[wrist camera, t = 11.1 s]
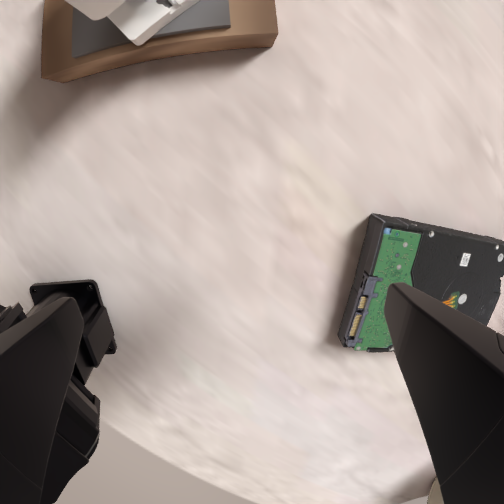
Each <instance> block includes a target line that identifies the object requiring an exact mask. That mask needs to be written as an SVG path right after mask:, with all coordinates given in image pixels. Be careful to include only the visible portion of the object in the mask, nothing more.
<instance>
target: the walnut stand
mask: <svg viewBox="0 0 504 504" xmlns="http://www.w3.org/2000/svg"><path fill="white" fill-rule="evenodd" d="M156 3H157V4H163V5H164V6H165V7H168V8H170V7H171V6H173V5H172V4H171V3H170V2H169V1H168V0H156ZM277 35H278V26H277V17H276V8H275V0H200V1H198V2H197V3H196V4H194V5H193V6H191V7H190V8H188V9H187V10H186V11H184V12H183V13H181V14H180V15H179V16H177V17H176V18H175V19H173V20H172V21H171V22H169V23H168V24H167V25H166V26H164V27H163V28H162V29H160V30H159V31H158V32H157V33H155V34H154V35H153V36H152V37H150V38H149V39H148V40H147V41H146V42H144V43H143V44H142V45H140V46H137V45H135V44H134V43H133V42H132V41H131V40H129V39H128V38H127V37H126V36H125V34H124V33H123V32H122V31H121V30H120V29H119V28H118V27H117V26H116V25H115V24H114V23H113V22H112V21H111V20H110V19H109V18H108V17H107V16H106V17H104V18H102V19H100V20H92V19H90V18H89V17H87V16H86V15H85V14H83V13H82V12H80V11H79V10H78V9H76V8H75V7H73V6H72V5H71V4H69V3H68V2H66V1H65V0H45V4H44V14H43V28H42V54H41V78H43V79H48V80H53V81H57V82H61V83H65V82H69V81H72V80H75V79H78V78H81V77H85V76H88V75H92V74H95V73H99V72H103V71H106V70H110V69H114V68H118V67H122V66H127V65H131V64H136V63H141V62H145V61H150V60H156V59H161V58H167V57H173V56H179V55H186V54H193V53H201V52H209V51H219V50H229V49H242V48H260V47H272V46H273V44H274V41H275V39H276V37H277Z"/></svg>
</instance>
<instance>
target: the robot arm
mask: <svg viewBox="0 0 504 504" xmlns="http://www.w3.org/2000/svg"><path fill="white" fill-rule="evenodd" d="M89 285H91V286H92V287H93V289H91V288H90V287H89ZM34 289H35V290H36V291H37V292H36V291H35V290H34ZM30 294H31V296H32V299H33V302H34V305H35V306H34V307H33V308H32V309H31V310H30V311H29V312H28V313H27V314H26V315H25V313H24V312H23V308H22V307H21V305H20V304H19V302H18V303H17V304H15V305H14V306H13V307H11V306H9V307H4V306H1V305H0V504H53V503H55V502H56V501H57V499H58V497H59V496H60V494H61V492H62V491H63V489H64V488H65V486H66V485H67V483H68V482H69V480H70V479H71V478H72V477H73V476H74V475H75V474H76V473H77V471H79V470H80V469H81V468H82V467H84V466H85V465H86V464H87V463H88V462H89V459H90V457H91V456H92V454H93V453H94V451H95V449H96V447H97V444H98V440H99V416H100V400H99V399H98V398H97V397H96V396H95V395H92V394H91V392H90V391H89V390H88V389H87V388H86V387H85V386H84V385H85V384H86V382H87V380H88V378H89V376H90V373H91V371H92V369H93V368H97V367H98V366H99V364H100V362H101V360H102V358H103V356H104V354H114V353H115V352H116V350H117V346H116V343H115V340H114V337H113V336H114V332H113V329H112V326H111V323H110V319H109V316H108V313H107V310H106V308H105V306H103V302H102V299H101V295H100V292H99V288H98V285H97V283H96V282H95V281H94V280H77V281H64V282H51V283H37V284H33V285H32V286H31V287H30ZM384 316H385V319H386V323H387V326H388V330H389V333H390V337H391V340H392V344H393V348H394V351H395V355H396V358H397V361H398V364H399V367H400V369H401V372H402V374H403V377H404V379H405V382H406V385H407V387H408V390H409V393H410V396H411V398H412V401H413V404H414V407H415V410H416V412H417V415H418V418H419V421H420V424H421V427H422V430H423V433H424V436H425V439H426V442H427V445H428V449H429V452H430V455H431V458H432V461H433V465H434V468H435V472H436V475H437V479H438V482H439V485H440V490H441V494H442V498H443V501H444V504H504V336H503V335H502V334H500V333H496V331H494V330H492V329H491V328H489V327H487V326H485V325H483V324H482V323H480V322H478V321H476V320H474V319H472V318H471V317H469V316H467V315H465V314H463V313H461V312H460V311H458V310H456V309H454V308H452V307H450V306H448V305H446V304H445V303H443V302H441V301H439V300H437V299H435V298H433V297H431V296H429V295H427V294H425V293H424V292H422V291H420V290H418V289H416V288H414V287H412V286H410V285H408V284H406V283H404V282H397V283H391V284H390V285H389V287H388V290H387V295H386V300H385V305H384ZM109 347H111V348H112V349H111V348H109Z"/></svg>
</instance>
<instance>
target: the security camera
mask: <svg viewBox="0 0 504 504" xmlns="http://www.w3.org/2000/svg"><path fill="white" fill-rule="evenodd" d="M65 1H66V2H68V3H69V4H71V5H72V6H73V7H75V8H76V9H78V10H79V11H80V12H82V13H83V14H85V15H86V16H87V17H89V18H90V19H92V20H100V19H102V18H104V17H106V16H107V17H108V18H109V19H110V20H111V21H112V22H113V23H114V24H115V25H116V26H117V27H118V28H119V29H120V30H121V31H122V32H123V33H124V34H125V36H126V37H127V38H128V39H129V40H131V41H132V42H133V43H134V44H135V45H137V46H140V45H142V44H143V43H144V42H146V41H147V40H148V39H149V38H150V37H152V36H153V35H154V34H155V33H157V32H158V31H159V30H160V29H162V28H163V27H164V26H166V25H167V24H168V23H169V22H171V21H172V20H173V19H175V18H176V17H177V16H179V15H180V14H181V13H183V12H184V11H186V10H187V9H188V8H190V7H191V6H193V5H194V4H196V3H197V2H198V1H200V0H168V1H169V2H170V3H171V4H172V5H173V6H171V7H170V8H168V7H165V6H164V5H163V4H157V3H156V0H65Z"/></svg>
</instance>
